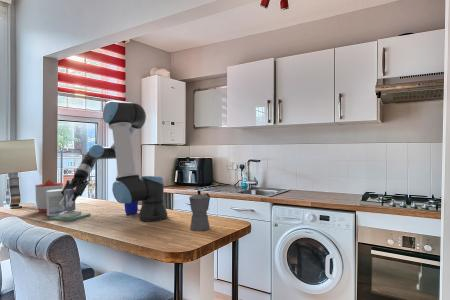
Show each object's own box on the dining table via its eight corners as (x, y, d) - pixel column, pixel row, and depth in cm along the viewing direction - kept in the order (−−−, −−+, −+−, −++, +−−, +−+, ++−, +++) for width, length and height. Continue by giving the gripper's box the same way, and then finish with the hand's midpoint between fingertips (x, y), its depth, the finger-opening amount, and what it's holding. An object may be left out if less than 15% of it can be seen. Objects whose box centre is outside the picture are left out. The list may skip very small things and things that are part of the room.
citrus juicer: (62, 207, 205) (61, 177, 204) (65, 211, 190) (64, 179, 190) (35, 210, 196) (34, 179, 196) (36, 214, 181) (35, 181, 181)
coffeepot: (200, 233, 133) (199, 192, 133) (183, 231, 137) (182, 191, 137) (218, 225, 146) (217, 188, 146) (201, 223, 151) (200, 187, 151)
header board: (90, 215, 175) (90, 210, 175) (71, 221, 162) (71, 215, 162) (69, 214, 180) (69, 209, 180) (48, 219, 167) (48, 214, 167)
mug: (140, 215, 173) (140, 197, 173) (121, 214, 176) (120, 197, 176) (147, 212, 181) (146, 195, 181) (128, 211, 184) (128, 195, 184)
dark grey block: (75, 209, 173) (74, 189, 173) (70, 211, 169) (69, 190, 169) (69, 209, 174) (68, 189, 174) (64, 211, 169) (63, 190, 169)
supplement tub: (68, 213, 182) (68, 189, 182) (54, 217, 173) (53, 191, 173) (57, 212, 186) (56, 188, 186) (42, 216, 177) (42, 191, 177)
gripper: (98, 176, 185) (82, 209, 169) (72, 177, 188) (54, 209, 171) (93, 168, 180) (76, 201, 163) (66, 169, 182) (47, 201, 166)
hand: (65, 205), depth 167 cm, fingers closed on dark grey block, 4 cm apart
